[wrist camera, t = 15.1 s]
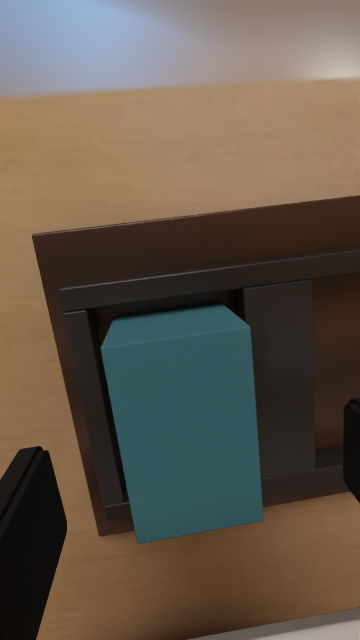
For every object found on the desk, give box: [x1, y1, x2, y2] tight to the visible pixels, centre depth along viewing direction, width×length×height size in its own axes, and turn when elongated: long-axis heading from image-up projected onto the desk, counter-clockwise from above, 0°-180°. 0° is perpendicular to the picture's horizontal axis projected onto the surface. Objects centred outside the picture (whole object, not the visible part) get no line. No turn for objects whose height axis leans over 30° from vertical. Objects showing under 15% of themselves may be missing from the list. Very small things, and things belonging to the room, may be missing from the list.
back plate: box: [32, 195, 360, 537], centre depth 16 cm, size 16×20×3 cm
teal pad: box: [101, 303, 264, 544], centre depth 14 cm, size 8×5×4 cm, turn 7°
